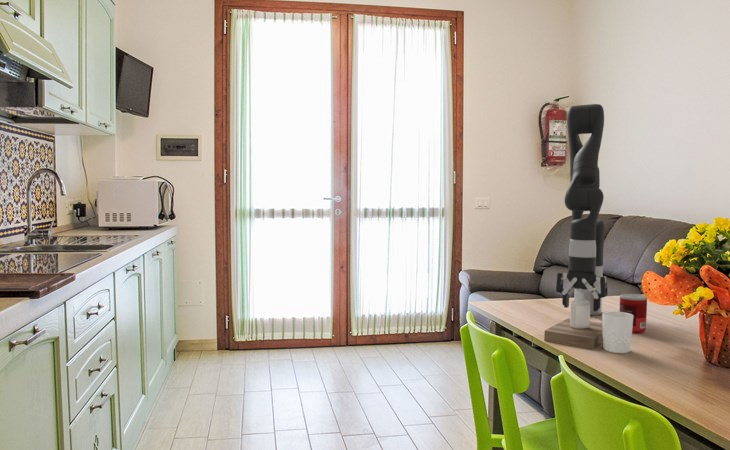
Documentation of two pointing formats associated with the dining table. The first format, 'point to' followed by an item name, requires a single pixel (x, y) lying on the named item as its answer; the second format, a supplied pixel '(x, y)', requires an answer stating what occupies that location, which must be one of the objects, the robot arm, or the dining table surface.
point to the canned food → (635, 310)
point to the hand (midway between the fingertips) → (580, 309)
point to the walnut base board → (575, 334)
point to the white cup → (617, 331)
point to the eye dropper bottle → (580, 312)
